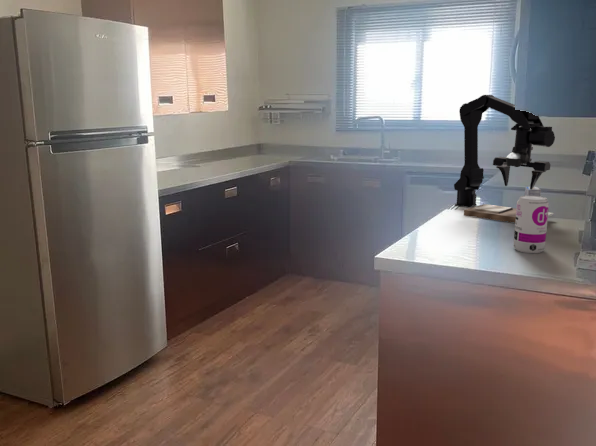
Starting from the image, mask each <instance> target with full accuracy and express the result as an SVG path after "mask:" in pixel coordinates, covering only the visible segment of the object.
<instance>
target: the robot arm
mask: <svg viewBox="0 0 596 446" xmlns="http://www.w3.org/2000/svg"><path fill="white" fill-rule="evenodd" d="M515 105H516V104H513V103H511V102H508V101H506V100H504V99H501V98H498V97H496V96H494V95H493V94H483V95H481V96H479V97H478V98H475V99H473V100H470V101H469V102H465V103H463V104H462V105H461V106H460V107H459V118H460V122H461V124H462V126H463V127H464V134H463V135H464V136H463V137H464V141H463V143H464V149H463V150H464V165H463V166H462V168H461V171H460V175H459V179H458V180H456V181H455V182H454V184H453V187H454V188H453V189H454V190H455V191H457V193H456V203H454V206H460V207H467V208H472V207H476V206H478V205H477V194H476V191H478V190H479V188H480V186H481V185H482V183H483V180H484V179H485V176H484V172H485V171H484V168H483V167H482V168H481V167H480V165H479V161H478V160H479V156H478V155H479V154H478V153H479V151H478V148H479V146H478V144H479V141H478V140H479V139H478V138H479V136H478V135H479V133H478V132H479V131H478V130H479V125H480V123H481V121H482V119H483V113H485V112H487V111H488V110H489V109H491V110H494V111H496V112H498V113H501V114H503V115H506V116H508V117H509V118H510V119H511V121H512V122H514V123H515V124H514V126H512V127H511V128H510V130H511V131H515V136H514V137H515V139H514V146H512V150H511V152H510V153H508V155H507V156H498V157H497V156H496V157H494V159H493V160H492V166H495V168H496V169H498V170H499V171H500V172H501V175H502V179H503V183H504V186H505V187H507V186H508V185H509V181H510V180H509V178H510V170H511V167H514V168H519V167H520V168H521V167H526V168H532V169H533V170H531V179H530V185H529V187H530V189H531V190H532V189H533V187H535V185H536V184H537V181H538V180H539V178H540V177H541V175H542V174H543V173H546V172H547V171H550V170H551V162H550V161H544V160H537V161H534V162H532V159H533V158H532V157H531V156H532V151H533V149H534V147H533V146H536V147H537V146H538V147H543V148H544V147H546V148H550V147H552V146H553V144H554V143H555V139H556V136H555V132H554V131H553V126H544V124H543V122H542V120H541V119H540V117H539V115H538V116H535V115H533V114H532V113H529V112H526V111H520V110H515Z"/></svg>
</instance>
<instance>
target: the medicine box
mask: <svg viewBox="0 0 596 446" xmlns="http://www.w3.org/2000/svg"><path fill="white" fill-rule="evenodd" d="M524 189H525V190H524V196H541V193H542V190H541V188H539V187H538V186H534V187H533V189H532V190H531V189H530V186H525V188H524ZM541 197H542V196H541Z"/></svg>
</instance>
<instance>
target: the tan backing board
mask: <svg viewBox="0 0 596 446" xmlns="http://www.w3.org/2000/svg"><path fill="white" fill-rule="evenodd" d="M516 209H517V207H515V208H513V207H510V206H509V207H508V206H501V205H493V204H486V203H485V204H484V203H483V204H480V205H475V206H472V207H468V208H465V209H463V216H466V217H472V218H479V219H486V220H493V221H498V220H500V221H499V222H505V221H508V222H507V223H511V222H514V223H513V224H515V220H516Z"/></svg>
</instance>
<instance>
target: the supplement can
mask: <svg viewBox="0 0 596 446" xmlns="http://www.w3.org/2000/svg"><path fill="white" fill-rule="evenodd" d="M549 207H550V203H549V201H548V198H547V197H545V196H525V195H520V196H519V198H518V200H517V201H516V220H515V223H514V237H513V244H512V247H513V248H514V249H515V251H517V252H519V253H520V252H521V253H525V254H539V253H542V252H543V251H545V250H546V241H547V240H546V239H547V231H548V230H547V228H548V220H549V219H548V212H549V209H550V208H549Z"/></svg>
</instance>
